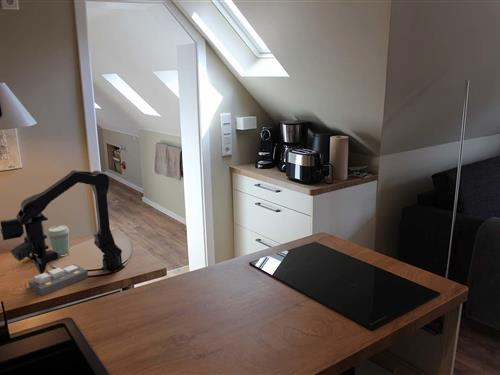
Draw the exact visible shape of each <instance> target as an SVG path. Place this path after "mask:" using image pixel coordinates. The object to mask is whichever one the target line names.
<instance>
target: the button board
mask: <svg viewBox="0 0 500 375" xmlns="http://www.w3.org/2000/svg"><path fill="white" fill-rule="evenodd" d="M71 265H74V266H76V267H78V270H77V271H74V272H71V273H69V274H68V273H66V272H65V275H64V276H61V277H59V278H56V279H54V278H52V277H50V278H51V281H48V282H46V283H43V284H38V283H36V282H35V279H34V278H32V279H31V280H28V287H29V289H31V290H33V291H34V292H36V293H37V294H39V295H40V296H44V295H47V294H49V293H52V292H54V291H57V290H59V289H62V288H65V287H66V286H70V285H72V284H74V283H76V282H79V281H81V280H84V279H86V278H88V277H89V272H88V270H86V269H85V268H83V267H81V266H79V265H77V264H75V263H72V264H71ZM71 265H67V266H64V267H62V268H61V269H63V268H66V267H68V266H71ZM47 274H48V275H49V273H47Z"/></svg>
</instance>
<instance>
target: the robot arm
mask: <svg viewBox="0 0 500 375" xmlns="http://www.w3.org/2000/svg"><path fill="white" fill-rule="evenodd" d="M78 183H79V184H85V185H89V186H90V187H91V190H92V192H93V195H94V200H95V212H96V221H97V232H96V233H93V238H94V243H93V244H94V245H95V246H96V247H97V249H99V251H101V253H102V267H101V269H104V270H105V271H106V272H109V273H113V272H115V271H117V270H118V271H119V270H120V269H123V268H124V267H125V265H124V264H123V260H122V252H123V250H122V249H121V248H120V247H119V246H118V245H117V244H116V242H115V239H114V236H113V234H112V231H111V226H110V216H109V207H108V192H109V188H110V178H109V176H108V174H106V173H104V172H102V171H101V170H94V171H87V170H85V171H82V170H76V169H73V170H71V171H70V172H69V173H67V174H66V175H65V176H64V177H62V178H60V179H59V180H58V181H56V182H55V183H53V184H52V185H51V186H50V187H47V188H46V189H45V190H43V191H41V192H40V193H36V194H34V195H32V196H30V197H27V198H25V199H24V200H23V201H22V202H21V203H20V210H19V211H18V212H17V214H16V217H15V218H12V219H4V220H3V219H2V220H0V234H1V239H2V241H8V240H14V239H18V238H19V239H20V238H21V237H22V236H23V234H25V236H24V238H23V242H22V243H20V244H18V245H17V246H15V247H14V248H13V249H11V250H10V251H9V252H10V253H11V255H12V256H13V258H14V259H15V260H17V261H18V262H20V261H23V260H24V259H26V258H28V259H30V260H31V261H33V263H34V265H35V267H36V270H37V271H38V273H39V275H40V274H43V273H45V271H46V267H47V265H48V264H49V263H51V262H55V261H57V260H59V258H60V257H59V255H58V253H56V252H54V251H53V249H49V245H47V243H46V239H48V234H45V231H44V226H43V225H44V224H43V222H44V221H48V220H49V218H48V217H47V215H45V214H43V211H45V209H46V208H47V207H48V206H49V204H50V203H51V202H52V201H54V200H55V199H57V198H58V197H59V196H61V195H62V194H64V193H65V192H67V191H68V190H70V189H71V188H72V187H74V186H75V185H76V184H78ZM24 230H25V231H24Z"/></svg>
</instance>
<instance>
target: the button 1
mask: <svg viewBox="0 0 500 375" xmlns="http://www.w3.org/2000/svg"><path fill="white" fill-rule="evenodd" d="M48 274H49V273H46V272H44V273H43V274H40V273H39V274H38V275H35V276H34V277H33V279H35V282H36V283H38V284H43V283H46V282H48V281H51V278H50V275H48Z"/></svg>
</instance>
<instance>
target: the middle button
mask: <svg viewBox="0 0 500 375" xmlns="http://www.w3.org/2000/svg"><path fill="white" fill-rule="evenodd" d="M48 274H49V275H50V277H52V278H54V279H56V278H59V277H61V276H64V275H65V272H64V270H63V269H62V268H61V267H57V268H54V269H51V270H48Z"/></svg>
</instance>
